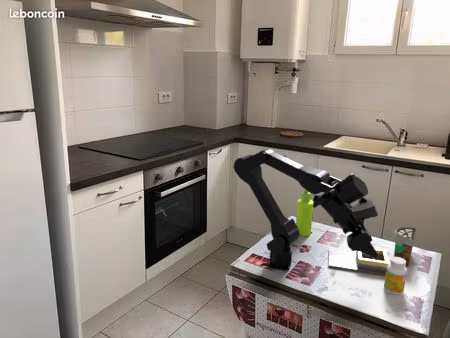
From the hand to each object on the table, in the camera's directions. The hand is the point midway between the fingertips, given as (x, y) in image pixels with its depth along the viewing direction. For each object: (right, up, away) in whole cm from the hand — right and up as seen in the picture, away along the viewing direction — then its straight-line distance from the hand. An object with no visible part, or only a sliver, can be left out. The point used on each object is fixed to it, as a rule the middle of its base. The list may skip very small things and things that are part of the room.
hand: (374, 248), depth 109 cm
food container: (+17, -8, +21) cm, 28 cm away
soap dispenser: (-12, -2, +37) cm, 39 cm away
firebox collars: (+1, -8, +17) cm, 19 cm away
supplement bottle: (+7, -13, +3) cm, 15 cm away
